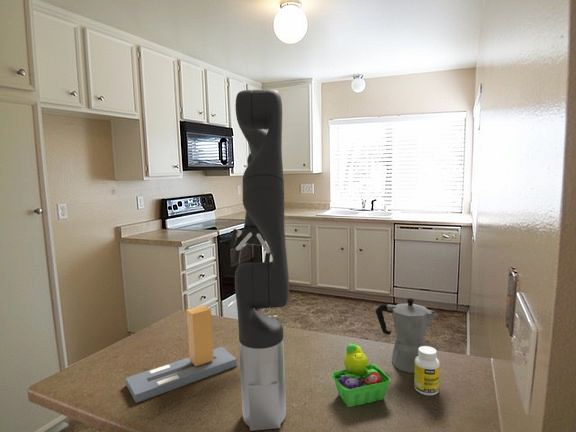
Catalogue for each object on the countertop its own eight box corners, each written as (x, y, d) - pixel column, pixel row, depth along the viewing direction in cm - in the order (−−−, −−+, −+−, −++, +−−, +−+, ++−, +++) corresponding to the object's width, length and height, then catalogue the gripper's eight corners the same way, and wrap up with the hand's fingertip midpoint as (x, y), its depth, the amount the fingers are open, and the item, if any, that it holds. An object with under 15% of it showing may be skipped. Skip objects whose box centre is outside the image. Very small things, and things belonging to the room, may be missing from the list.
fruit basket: (345, 412, 80) (344, 362, 79) (329, 389, 89) (328, 344, 87) (392, 402, 83) (392, 353, 82) (372, 380, 92) (372, 337, 90)
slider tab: (207, 354, 102) (204, 305, 101) (213, 360, 99) (210, 309, 97) (189, 360, 99) (186, 309, 98) (195, 366, 96) (192, 314, 94)
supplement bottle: (423, 398, 84) (424, 357, 83) (409, 385, 89) (410, 346, 88) (444, 393, 86) (445, 353, 84) (429, 381, 91) (429, 342, 90)
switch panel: (222, 353, 108) (221, 346, 108) (237, 365, 101) (236, 358, 100) (126, 385, 93) (125, 377, 92) (135, 403, 85) (135, 394, 85)
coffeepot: (437, 360, 101) (438, 295, 98) (435, 378, 92) (437, 307, 90) (378, 350, 107) (378, 289, 104) (372, 366, 98) (372, 300, 96)
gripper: (233, 208, 114) (226, 261, 111) (279, 212, 113) (273, 266, 111) (237, 213, 122) (231, 263, 119) (281, 217, 121) (275, 267, 118)
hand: (251, 264), depth 115 cm, fingers open, 8 cm apart
